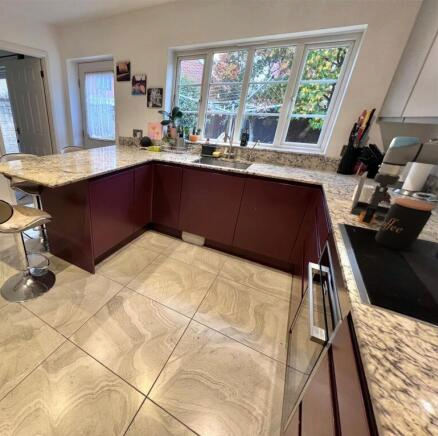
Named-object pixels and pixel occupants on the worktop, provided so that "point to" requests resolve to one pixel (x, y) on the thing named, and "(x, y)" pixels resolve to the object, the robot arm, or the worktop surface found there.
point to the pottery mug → (383, 198)
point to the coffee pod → (363, 217)
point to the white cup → (363, 193)
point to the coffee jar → (403, 223)
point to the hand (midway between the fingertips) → (367, 218)
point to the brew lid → (359, 189)
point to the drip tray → (361, 207)
